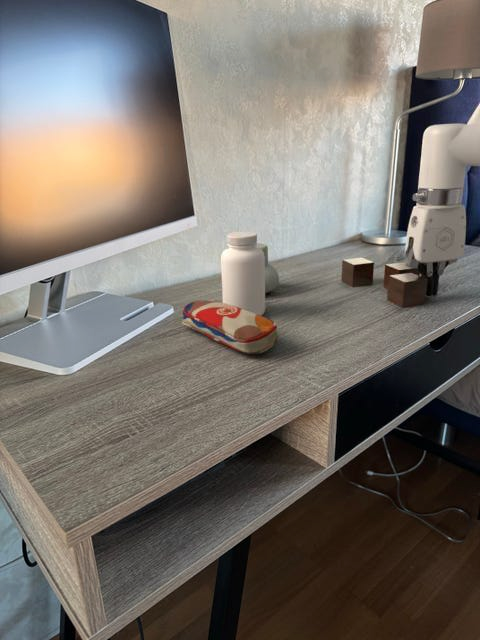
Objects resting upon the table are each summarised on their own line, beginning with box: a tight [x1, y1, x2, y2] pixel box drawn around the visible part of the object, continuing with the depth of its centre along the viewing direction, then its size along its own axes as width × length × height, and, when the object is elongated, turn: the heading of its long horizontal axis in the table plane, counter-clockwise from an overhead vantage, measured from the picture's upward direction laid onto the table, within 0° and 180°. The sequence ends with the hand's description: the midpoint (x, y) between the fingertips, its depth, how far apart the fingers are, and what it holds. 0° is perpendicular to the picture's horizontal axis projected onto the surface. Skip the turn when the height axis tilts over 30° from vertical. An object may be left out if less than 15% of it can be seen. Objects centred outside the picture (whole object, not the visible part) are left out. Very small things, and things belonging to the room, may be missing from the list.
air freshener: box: [256, 242, 280, 294], centre depth 95 cm, size 11×8×10 cm
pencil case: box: [181, 300, 279, 355], centre depth 73 cm, size 11×20×5 cm, turn 25°
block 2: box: [386, 273, 428, 308], centre depth 85 cm, size 5×5×5 cm
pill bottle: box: [220, 231, 266, 316], centre depth 81 cm, size 8×8×15 cm
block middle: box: [382, 261, 421, 290], centre depth 93 cm, size 5×5×5 cm
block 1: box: [340, 257, 375, 288], centre depth 98 cm, size 5×5×5 cm
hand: (428, 293), depth 87 cm, fingers closed
